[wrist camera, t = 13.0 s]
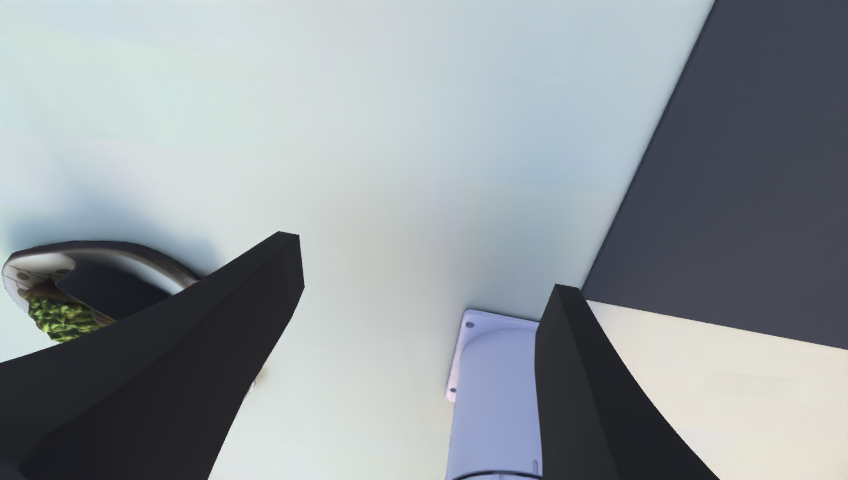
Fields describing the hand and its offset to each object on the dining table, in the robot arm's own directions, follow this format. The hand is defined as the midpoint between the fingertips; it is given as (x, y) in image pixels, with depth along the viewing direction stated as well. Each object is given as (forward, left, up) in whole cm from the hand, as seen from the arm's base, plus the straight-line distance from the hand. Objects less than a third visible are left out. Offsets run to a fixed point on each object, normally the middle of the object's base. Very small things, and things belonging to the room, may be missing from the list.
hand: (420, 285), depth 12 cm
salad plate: (-18, +21, -10) cm, 29 cm away
